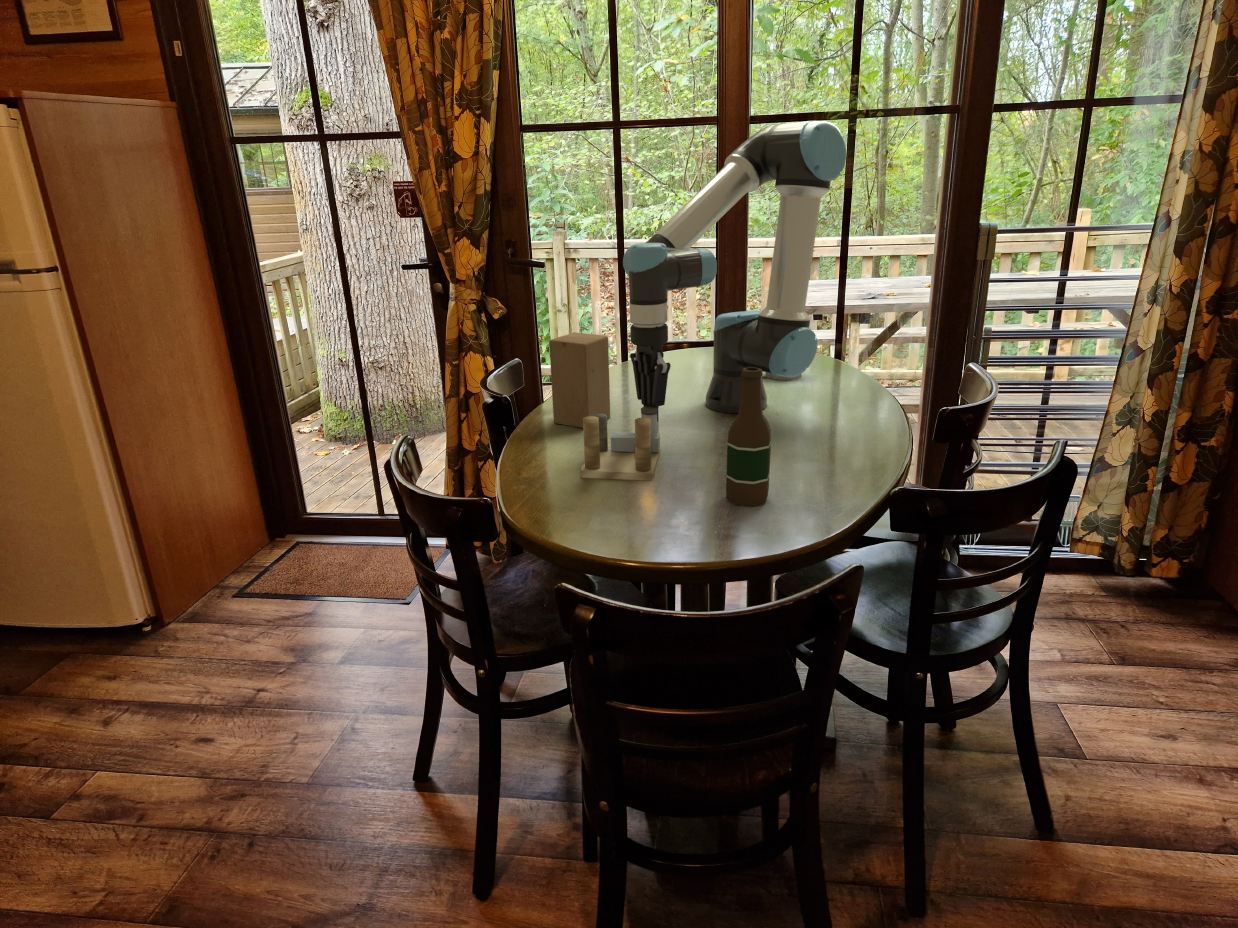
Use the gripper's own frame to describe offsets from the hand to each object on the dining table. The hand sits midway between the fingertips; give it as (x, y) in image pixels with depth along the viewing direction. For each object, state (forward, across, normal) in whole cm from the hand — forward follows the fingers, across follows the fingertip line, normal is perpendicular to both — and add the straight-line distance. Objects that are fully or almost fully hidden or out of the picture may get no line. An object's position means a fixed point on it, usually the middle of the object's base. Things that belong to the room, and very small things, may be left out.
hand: (651, 435), depth 165 cm
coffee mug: (+5, +37, -61) cm, 71 cm away
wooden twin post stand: (+3, -5, +10) cm, 11 cm away
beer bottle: (+4, -31, -2) cm, 31 cm away
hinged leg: (+2, -2, +5) cm, 5 cm away
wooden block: (+4, +27, +4) cm, 27 cm away
